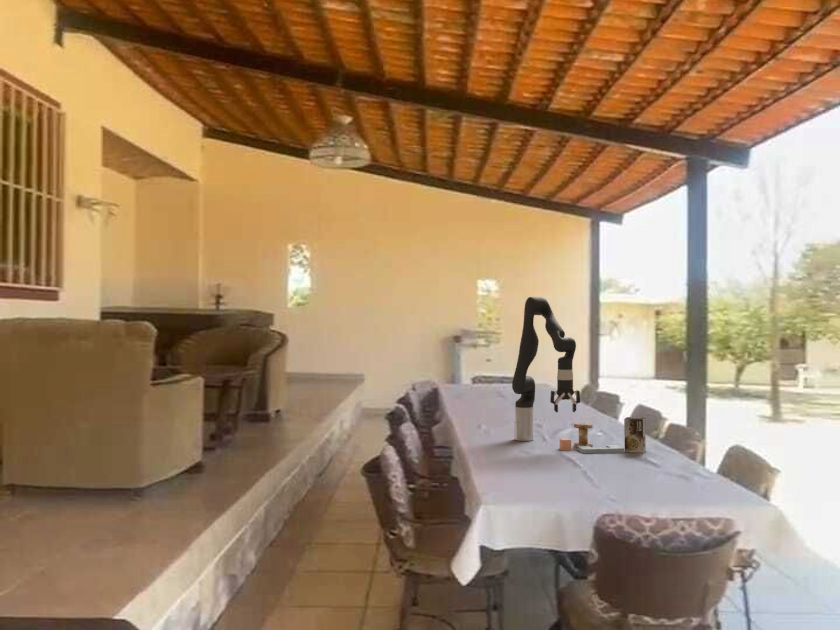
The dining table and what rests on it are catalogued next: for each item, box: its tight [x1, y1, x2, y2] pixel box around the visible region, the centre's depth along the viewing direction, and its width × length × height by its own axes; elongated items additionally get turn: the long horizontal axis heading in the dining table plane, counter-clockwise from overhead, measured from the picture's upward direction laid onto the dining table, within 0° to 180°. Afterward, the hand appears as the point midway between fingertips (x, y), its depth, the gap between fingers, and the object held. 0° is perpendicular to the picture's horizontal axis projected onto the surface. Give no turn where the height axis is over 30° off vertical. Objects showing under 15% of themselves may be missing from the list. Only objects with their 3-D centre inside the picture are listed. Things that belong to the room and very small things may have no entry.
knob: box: [573, 422, 594, 448], centre depth 432 cm, size 9×9×11 cm
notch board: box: [576, 444, 625, 454], centre depth 418 cm, size 20×10×2 cm, turn 96°
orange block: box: [559, 438, 572, 451], centre depth 424 cm, size 4×4×5 cm
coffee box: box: [623, 416, 647, 454], centre depth 416 cm, size 9×6×16 cm
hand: (565, 412), depth 424 cm, fingers open, 8 cm apart
